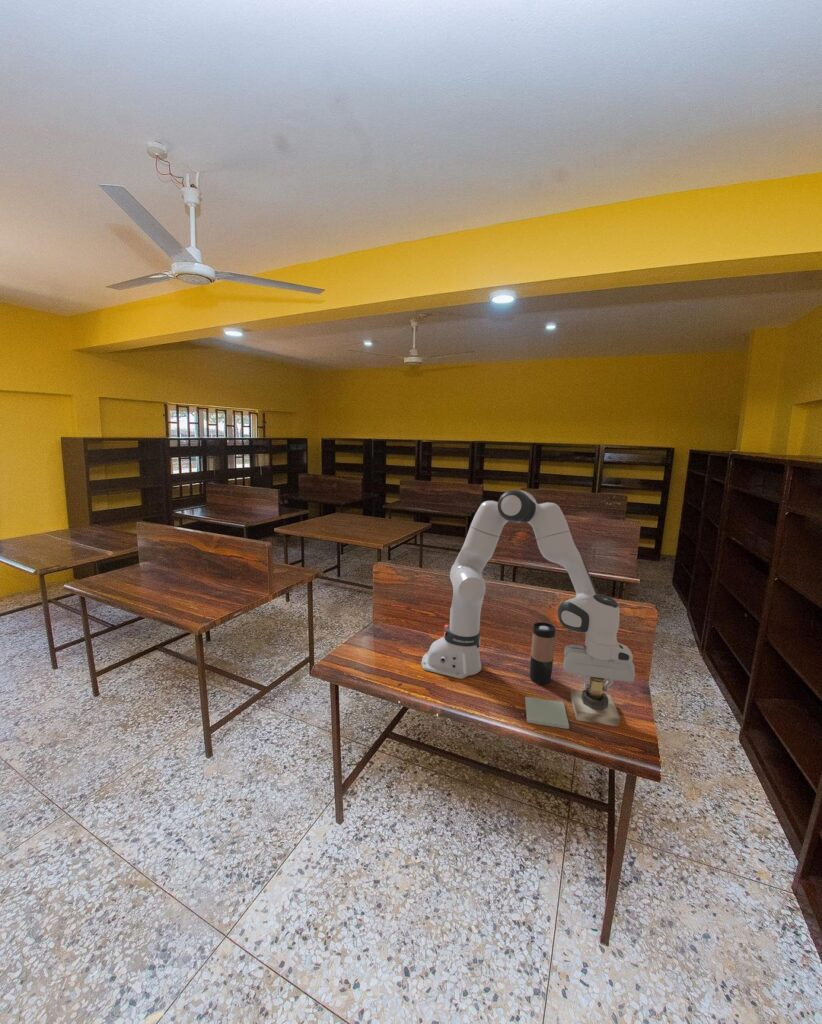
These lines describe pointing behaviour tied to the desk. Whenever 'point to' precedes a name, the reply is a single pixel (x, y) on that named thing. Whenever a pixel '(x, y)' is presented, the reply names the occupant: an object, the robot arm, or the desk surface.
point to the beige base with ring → (594, 708)
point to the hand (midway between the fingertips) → (595, 689)
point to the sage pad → (546, 712)
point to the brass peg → (596, 688)
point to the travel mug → (542, 653)
